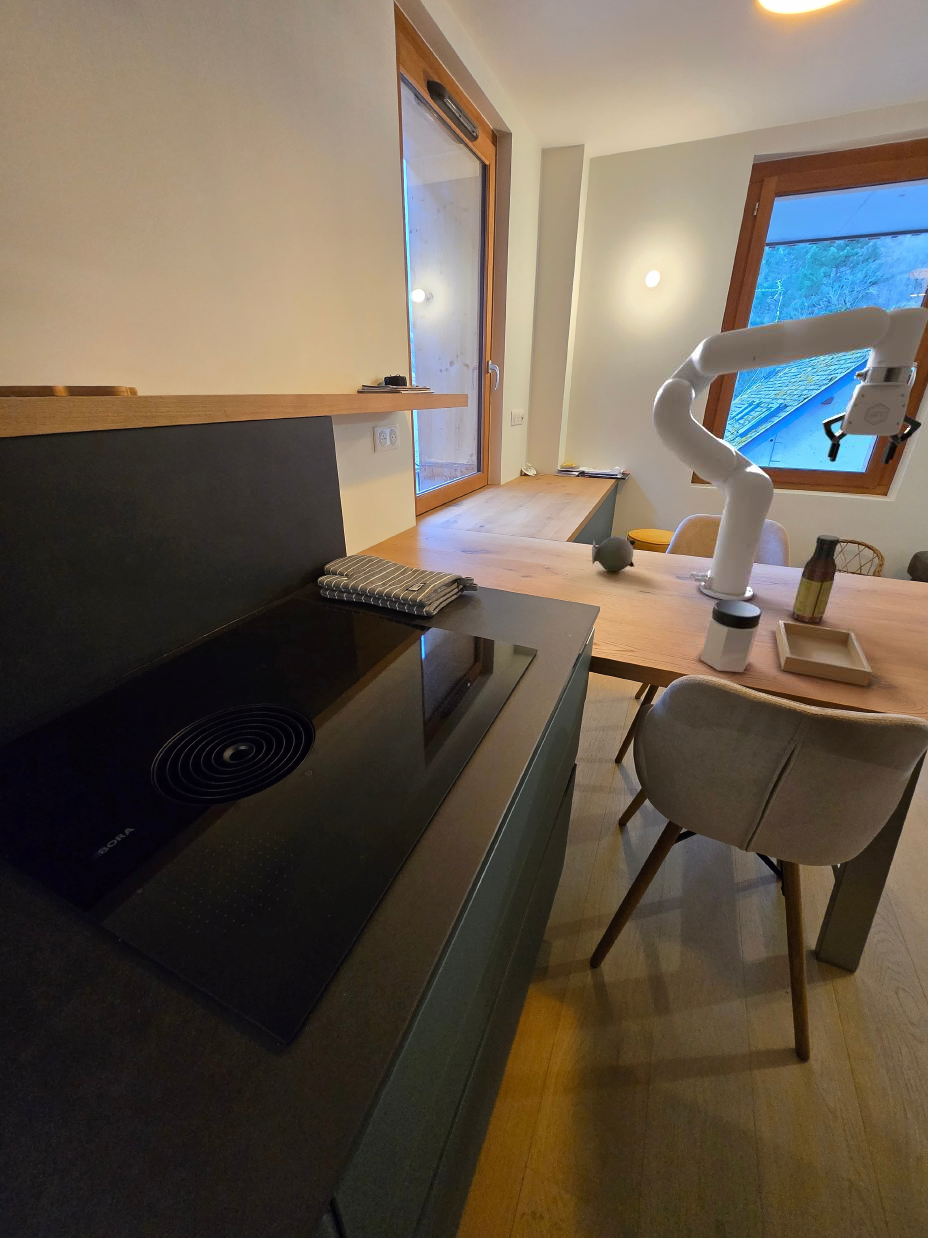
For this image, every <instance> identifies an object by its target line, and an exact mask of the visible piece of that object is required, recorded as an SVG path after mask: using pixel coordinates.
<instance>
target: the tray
mask: <svg viewBox="0 0 928 1238" xmlns="http://www.w3.org/2000/svg"><path fill="white" fill-rule="evenodd" d="M775 638H776V643H777V650H778V655H779V656H778V657H779V662H780V667H781V671H785V672H791V673H795V674H800V675H806V676H811V677H817V678H822V679H827V680H831V681H838V682H842V683H847V684H853V685H857V686H862V687H863V686H864V687H868V684H869V682H870V680H871V677H872V675H873V670H872V668H871V666H870V663H869V662H868V660H867V658H866V655H865V654H864V651H863V650H862V647H861V646H860V643H859V641H858V639H857V637H856V635H855V633H854V631H849V630H843V629H838V628H831V627H824V626H817V625H812V624H805V623H799V622H792V621H786V620H780V619H779V620H778V622H777V625H776V629H775Z"/></svg>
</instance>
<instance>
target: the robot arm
mask: <svg viewBox="0 0 928 1238" xmlns="http://www.w3.org/2000/svg"><path fill="white" fill-rule="evenodd" d="M927 323H928V308H926V307H923V306H913V307H911V306H910V307H900V308H894V309H893V308H892V309H890V310H888V311H887V310H886V309H885V308H884V307H881V306H878V305H866V306H862V307H856V308H851V309H847V310H841V311H836V312H830V313H825V314H821V315H816V316H809V317H804V318H796V319H787V320H782V321H777V322H772V323H771V322H770V323H767V324H761V325H756V326H750V327H746V328H739V329H735V330H730V331H724V332H720V333H719V332H718V333H715V334H712V335H709V336H708V337H705V339H704V340H703V341H701V343H699V345H698V346H697V347H696V348H695V350H694V351H693V352H692V353H691V354H690V355H689V356H688V358H687V359H686V360H684V362H683V363H682V364H681V365H680V366H679V367H678V369H677V370H676V371H675V372H674V373H673V374H672V375H671V376H670V377H669V378H668V379H667V380H666V381H665V382H664V383H663V384H662V385H661V387H659V389H658V391H657V394H656V395H655V400H654V403H653V408H652V415H651V417H652V418H651V419H652V427H653V431H654V434H655V435H656V438H657V439H658V441H659V442H660V443H661V445H663V446H664V447H665V448H666V449H667V450H668V451H669V452H671V453H672V454H673V455H674V456H675V457H676V458H677V459H678V460H679V461H680V462H682V463H683V464H685V465H686V466H687V467H688V468H689V469H691V470H692V471H693V472H694V474H696V475H697V477H699V479H701V480H702V481H705V482H708V483H710V484H712V485H713V486H714V487H715V488H716V489H718V490H719V491H720V492H721V493H722V494H724V495H725V496H726V499H725V505H724V508H723V511H722V516H721V519H720V524H719V528H718V532H717V537H716V541H715V547H714V552H713V555H712V561H711V565H710V569H709V570H707V572H703V573H698V572H694V571H691V572H690V577H689V579H690V580H694V583H700V586H699V589H700V591H701V592H702V593H703V594H705V595H707V596H709V597H711V598H715V599H719V600H737V601H742V602H743V601H747V600H749V599H751V598H752V597H753V594H754V591H753V589H752V588H751V587H749V583H750V578H751V575H752V571H753V567H754V564H755V560H756V555H757V551H758V548H759V544H760V540H761V536H762V532H763V530H764V529H763V528H764V524H765V521H766V518H767V515H768V514H769V513H768V512H769V510H770V507H771V505H772V502H773V499H774V489H775V488H774V483H773V481H772V479H771V477H770V476H769V475H768V474H766V472H764V471H763V470H762V469H761V468H760V467H759V466H757V465H756V464H755V463H754V462H752V461H751V460H749V459H748V458H747V457H746V456H745V455H743V453H741V452H740V451H739V450H737V449H736V448H735V447H733V445H731V444H730V443H729V442H727V441H726V440H723V439H722V438H721V439H720V438H717V437H716V436H714V435H713V434H712V433H711V432H710V431H709V430H707V429H706V428H705V427H704V426H703V425H701V424H700V423H699V422H697V420H696V419H694V417H693V415H692V412H691V409H692V406H693V404H694V401H696V399H697V398H698V397H699V396H700V395H701V394H702V393H703V392H704V391H706V389H707V388H708V387H709V386H710V385H711V384H712V383H713V382H714V381H715V380H716V379H717V378H718V376H720V375H721V376H722V375H728V374H733V373H739V372H746V371H752V370H757V369H759V370H760V369H764V368H770V367H771V368H772V367H778V366H782V365H788V364H791V363H794V362H795V363H796V362H798V361H802V360H805V359H812V358H813V359H814V358H818V357H825V356H830V355H836V354H842V353H843V354H844V353H848V352H855V351H856V352H857V351H862V350H869V349H870V350H871V351H870V354H869V357H868V360H867V363H866V367H865V368H864V369H863V370H861V371H856V373H855V375H854V380H856V379H858V380H860V382H861V383H860V384H857V385H856V387H855V388H854V391H853V392H852V394H851V396H850V399H849V401H848V403H847V406H846V408H845V411H844V412H843V413H841V414H839V415H835V416H833V417H830V418H828V419H826V420H824V421H822V427H823V431H824V434H825V436H826V437H827V438H828V439H829V441H830V442H831V443H830V446H829V449H828V453H827V458H829V462H831V463H834V462H836V460H837V457H838V454H839V451H840V447H841V442H840V441H841V440H843V439H844V438H845V437H847V436H848V435H849V436H874V437H875V436H882V437H887V438H888V440H889V443H886V446H885V448H884V451H883V454H882V457H881V460H880V462H881V464H884V465H889V462H890V461H892V460H894V458H895V455H896V452H897V448H898V446H900V445H901V444H902V443H903V442H904V441H907V440H908V439H910V438H912V436H913V435H914V433H916V432H917V431H918V430H919V429H920V427H922V425H923V424H922V422H921V421H918V420H916V419H914V418H913V417H911V416H909V415H908V414H906V412H907V409H908V405H909V400H910V395H911V388H912V387H911V386H912V384H907V382H908V379H909V377H910V374H911V370H912V368H913V364H914V362H915V359H916V356H917V352H918V350H919V347H920V345H921V341H922V339H923V335H924V333H925V329H926V327H927ZM839 422H840V427H839V431H838V432H836V433H835V432H834V431H833V429H832V425H835V424H837V423H839ZM903 423H904V424H905V425H908V428H907V429H906V430H905V431H903V432H902V433H900V431H901V428H902V426H903ZM899 433H900V434H899Z"/></svg>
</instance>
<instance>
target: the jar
mask: <svg viewBox="0 0 928 1238" xmlns="http://www.w3.org/2000/svg"><path fill="white" fill-rule="evenodd" d="M761 616H762V610H761V609H760V608H759V607H758V606H756V605H754V604H752V603H749V602H746V601H743V600H742V601H737V600H723V599H721V600H718V601H716V602H715V603H714V604H713V608H712V612H711V617H710V618H709V621H708V626H707V629H706V633H705V638H704V643H703V647H702V650H701V651H702V652H701V657H700V660H701V661H702V662H704V663H705V664H707V665H709V666H710V667H711V668H713V669H714V670H716V671H719V672H733V673H734V672H735V673H743V672H744V671H745V670H746V668H747V666H748V664H749V662H750V659H751V655H752V652H753V647H754V644H755V640H756V636H757V633H758V629H759V626H760V620H761Z"/></svg>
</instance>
